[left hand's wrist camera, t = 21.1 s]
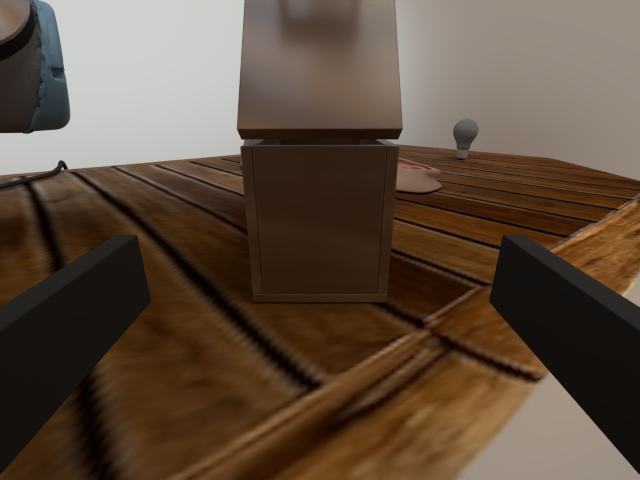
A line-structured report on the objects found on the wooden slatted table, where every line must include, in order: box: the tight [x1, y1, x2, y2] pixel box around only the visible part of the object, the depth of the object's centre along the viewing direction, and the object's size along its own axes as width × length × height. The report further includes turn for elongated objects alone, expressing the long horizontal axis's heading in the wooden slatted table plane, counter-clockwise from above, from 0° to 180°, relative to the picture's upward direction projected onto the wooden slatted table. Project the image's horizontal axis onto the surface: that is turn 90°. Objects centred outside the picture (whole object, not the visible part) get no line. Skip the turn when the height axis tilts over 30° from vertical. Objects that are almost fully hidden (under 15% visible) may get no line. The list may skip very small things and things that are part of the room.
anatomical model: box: [396, 158, 442, 193], centre depth 59 cm, size 13×4×12 cm
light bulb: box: [453, 119, 478, 159], centre depth 88 cm, size 6×6×10 cm
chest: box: [241, 139, 399, 303], centre depth 29 cm, size 15×9×11 cm, turn 0°
